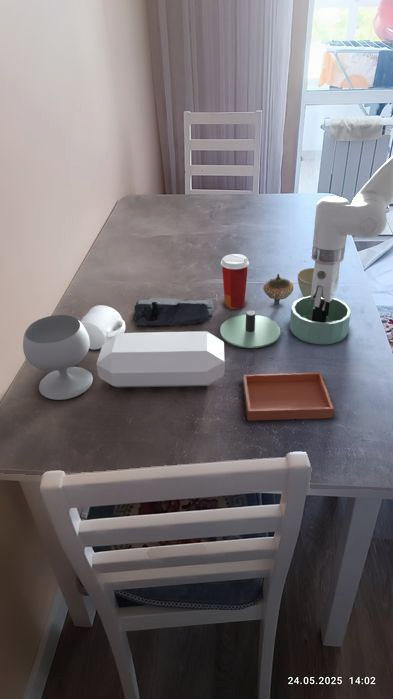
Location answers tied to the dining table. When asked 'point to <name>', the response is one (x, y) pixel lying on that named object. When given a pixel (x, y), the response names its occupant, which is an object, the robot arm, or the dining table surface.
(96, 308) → the mug
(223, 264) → the paper cup
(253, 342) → the lid
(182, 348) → the crystal
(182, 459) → the dining table surface
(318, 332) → the bowl
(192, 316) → the dark slate chunk
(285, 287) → the acorn
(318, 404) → the tray
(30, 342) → the chalice
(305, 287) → the flower pot
